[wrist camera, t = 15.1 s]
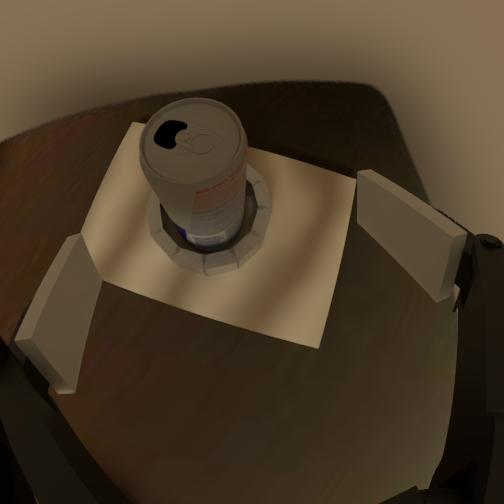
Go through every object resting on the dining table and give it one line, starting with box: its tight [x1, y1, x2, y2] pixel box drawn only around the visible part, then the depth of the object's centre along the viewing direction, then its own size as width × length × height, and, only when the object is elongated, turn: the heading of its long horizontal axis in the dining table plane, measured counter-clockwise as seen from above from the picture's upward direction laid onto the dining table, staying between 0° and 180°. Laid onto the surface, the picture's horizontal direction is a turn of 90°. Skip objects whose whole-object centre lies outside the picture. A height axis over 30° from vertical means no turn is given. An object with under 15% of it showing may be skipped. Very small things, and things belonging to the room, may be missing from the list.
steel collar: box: [146, 163, 273, 276], centre depth 24 cm, size 9×9×3 cm
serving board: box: [81, 122, 356, 348], centre depth 26 cm, size 22×15×2 cm
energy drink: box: [139, 98, 248, 252], centre depth 19 cm, size 5×5×12 cm
